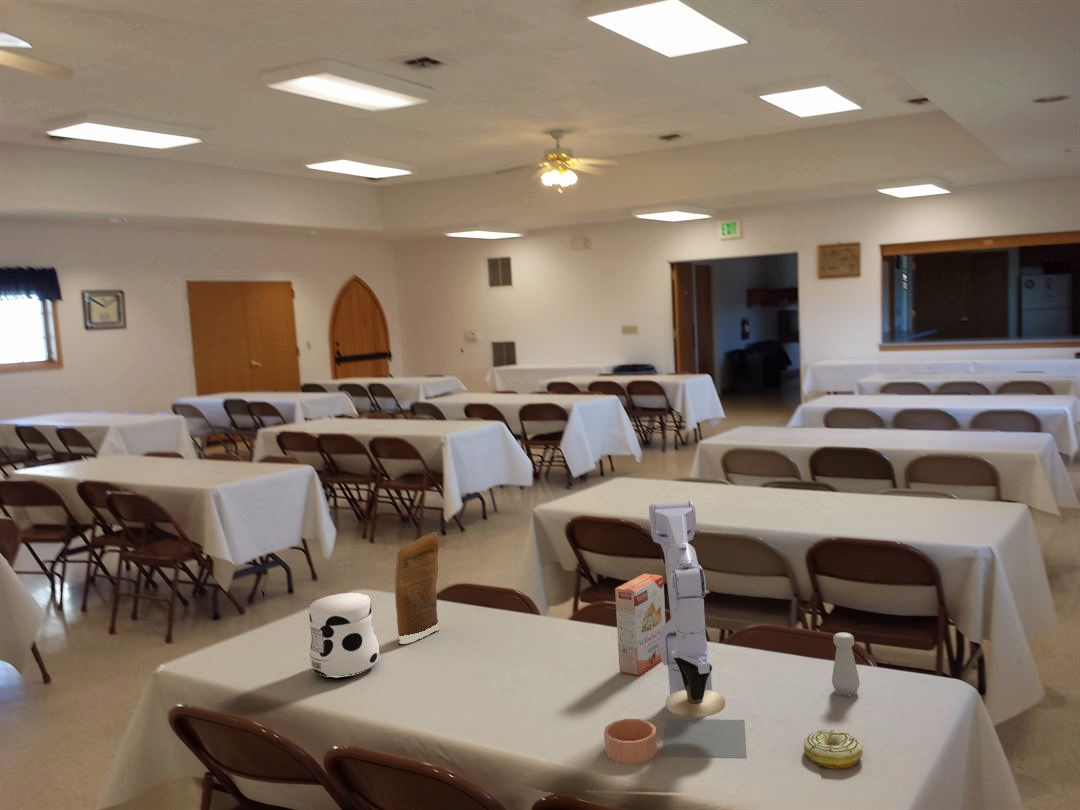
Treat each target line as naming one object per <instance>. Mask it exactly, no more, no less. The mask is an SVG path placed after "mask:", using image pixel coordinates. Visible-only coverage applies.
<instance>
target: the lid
mask: <svg viewBox="0 0 1080 810" xmlns="http://www.w3.org/2000/svg"><path fill="white" fill-rule="evenodd" d="M686 687H687V692H686V690H682V691H678V692H675V693H673V694H671V695H670V694H669V695H670V696H669V695H668V696H667V697H666V699H665V708H666V709H667V711H669V712H670V713H672V714H674V715H677V716H680V717H687V718H703V717H710V716H713V715H716V714H719V713H720V712H722V711H723V710H724V709H725V707H726V700H725V699H726V698H725V697H724V696H723V694H721V693H719V692H716V691H710V690H705V692H704V697H703V699H699V700H693V699H692V697H691V694H690V689H689V684H688V685H687V686H686Z"/></svg>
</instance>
